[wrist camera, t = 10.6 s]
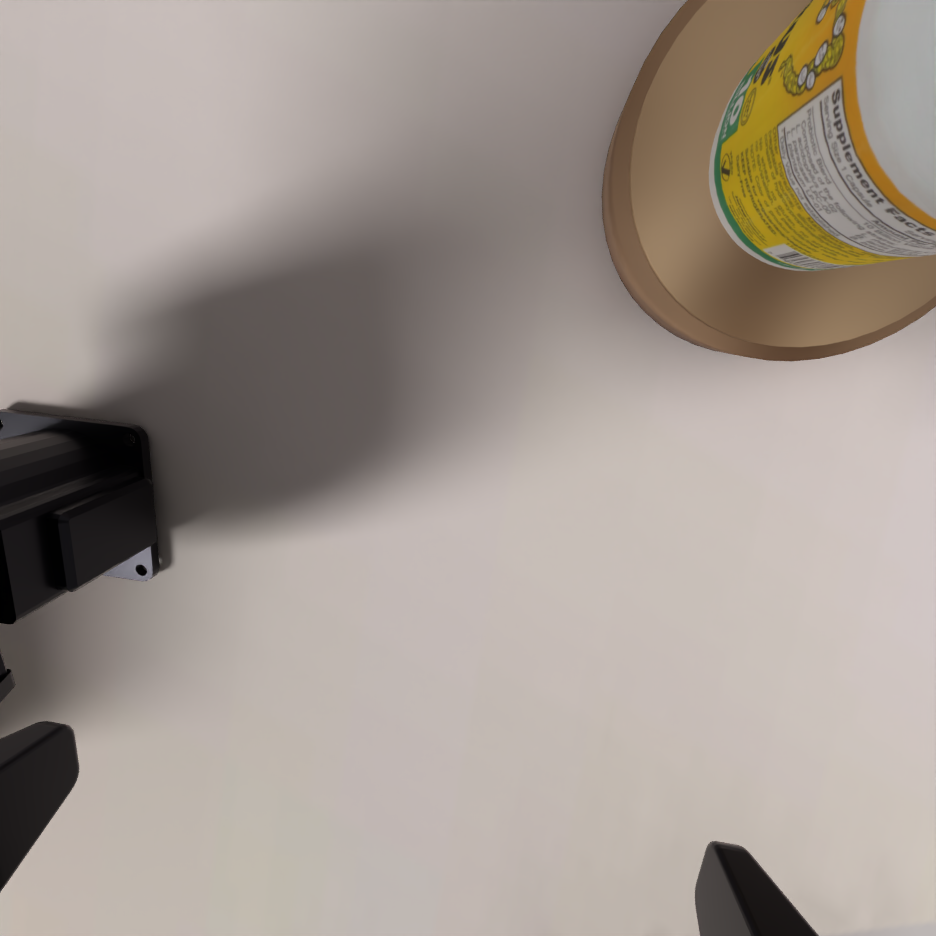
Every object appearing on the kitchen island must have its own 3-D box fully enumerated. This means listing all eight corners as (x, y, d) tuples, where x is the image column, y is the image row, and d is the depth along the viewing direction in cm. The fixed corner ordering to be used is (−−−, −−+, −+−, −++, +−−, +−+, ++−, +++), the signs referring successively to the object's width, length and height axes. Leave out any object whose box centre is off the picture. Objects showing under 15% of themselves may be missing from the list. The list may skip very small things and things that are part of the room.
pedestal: (579, 338, 18) (588, 343, 15) (632, -26, 15) (655, -107, 12) (897, 369, 17) (971, 380, 14) (1019, -14, 14) (1142, -98, 11)
